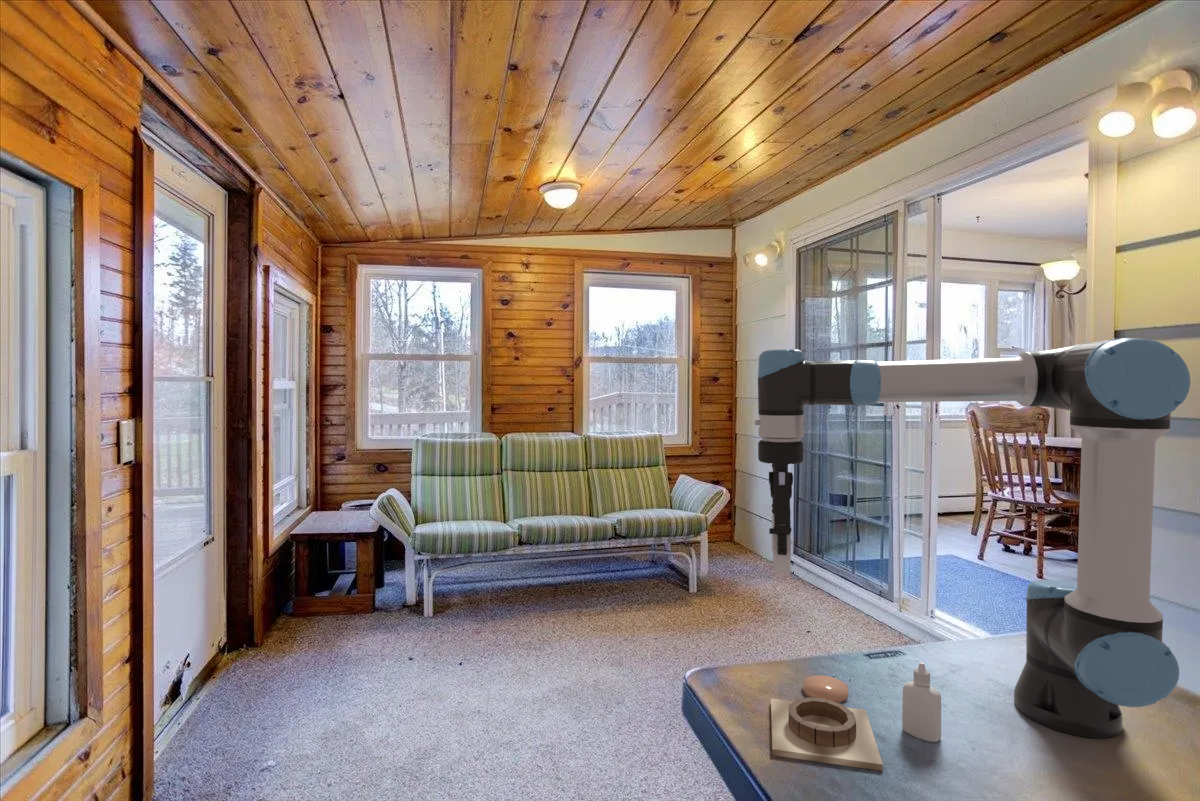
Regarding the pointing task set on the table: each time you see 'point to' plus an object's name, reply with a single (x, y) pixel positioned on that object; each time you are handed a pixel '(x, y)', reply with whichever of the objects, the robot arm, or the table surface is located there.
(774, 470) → the robot arm
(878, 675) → the table surface
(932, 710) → the eye dropper bottle
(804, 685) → the peach domed part
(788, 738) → the ring collar
